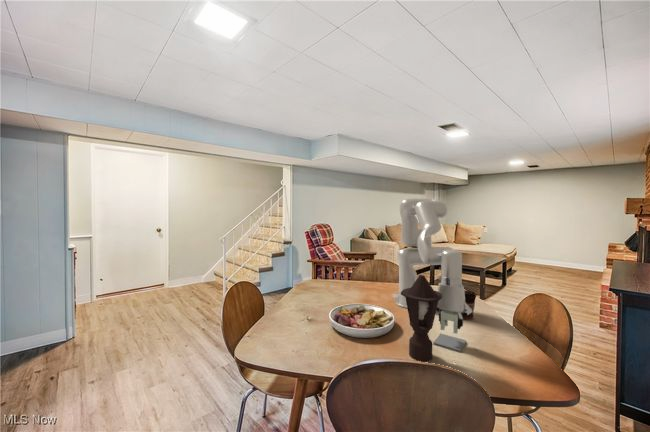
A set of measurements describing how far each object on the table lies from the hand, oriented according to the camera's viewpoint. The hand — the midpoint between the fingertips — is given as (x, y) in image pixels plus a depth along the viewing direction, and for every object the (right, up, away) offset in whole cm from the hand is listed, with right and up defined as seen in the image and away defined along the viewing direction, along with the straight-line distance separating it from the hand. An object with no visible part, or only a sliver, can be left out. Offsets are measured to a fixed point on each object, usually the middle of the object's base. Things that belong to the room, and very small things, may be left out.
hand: (450, 325), depth 112 cm
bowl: (-34, -7, +18) cm, 39 cm away
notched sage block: (0, -2, 0) cm, 2 cm away
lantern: (-15, -8, -9) cm, 19 cm away
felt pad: (0, -8, +1) cm, 8 cm away
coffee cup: (+20, -7, +26) cm, 33 cm away
